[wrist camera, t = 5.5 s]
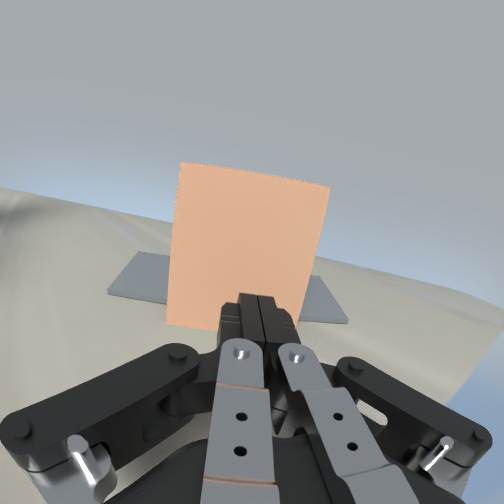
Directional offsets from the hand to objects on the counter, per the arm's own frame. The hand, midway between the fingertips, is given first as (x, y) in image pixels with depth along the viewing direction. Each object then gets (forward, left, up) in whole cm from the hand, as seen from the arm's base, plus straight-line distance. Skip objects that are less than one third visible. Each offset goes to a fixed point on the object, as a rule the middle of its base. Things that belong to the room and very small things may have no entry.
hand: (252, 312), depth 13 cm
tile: (+5, +8, -6) cm, 11 cm away
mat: (+8, +14, -6) cm, 17 cm away
